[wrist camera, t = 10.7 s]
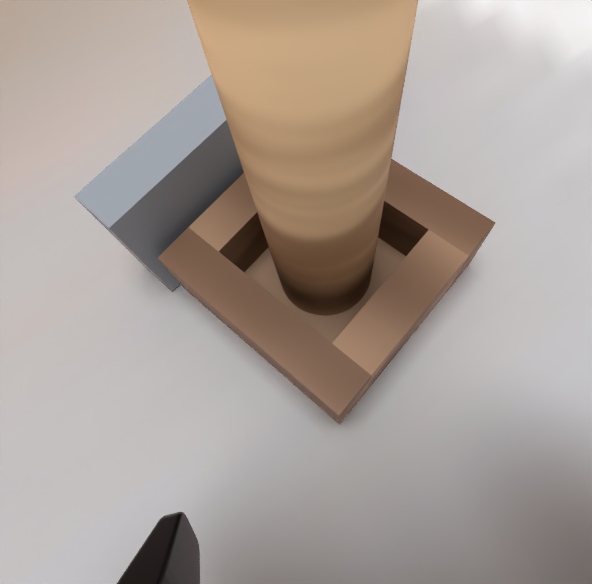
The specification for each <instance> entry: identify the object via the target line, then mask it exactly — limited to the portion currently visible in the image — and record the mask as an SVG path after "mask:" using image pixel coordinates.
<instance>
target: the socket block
mask: <svg viewBox="0 0 592 584" xmlns="http://www.w3.org/2000/svg"><path fill="white" fill-rule="evenodd" d="M494 224H495V222H493V221H492V220H490V219H488V218H487V217H485V216H484V215H482V214H480V213H479V212H477V211H475V210H474V209H472V208H471V207H469V206H467V205H466V204H464V203H462V202H461V201H459V200H457V199H456V198H454V197H453V196H451V195H449V194H448V193H446V192H444V191H443V190H441V189H440V188H438V187H436V186H435V185H433V184H431V183H430V182H428V181H427V180H425V179H423V178H422V177H420V176H418V175H417V174H415V173H413V172H412V171H410V170H409V169H407V168H405V167H404V166H402V165H400V164H399V163H397V162H396V161H394V160H392V159H391V163H390V169H389V175H388V181H387V187H386V192H385V198H384V204H383V210H382V216H381V222H380V228H379V234H378V240H377V245H376V251H375V257H374V263H373V269H372V275H371V280H370V284H369V287H368V290H367V292H366V293H365V295H364V296H363V298H362V299H361V300H360V301H359V302H358V303H357V304H356V305H355V306H353V307H352V308H350V309H349V310H347V311H344V312H342V313H339V314H335V315H326V316H324V315H315V314H311V313H308V312H305V311H303V310H301V309H300V308H298V307H297V306H295V305H294V304H293V303H292V302H291V301H290V300H289V299H288V297H287V296H286V294H285V292H284V290H283V288H282V285H281V282H280V279H279V276H278V273H277V270H276V267H275V264H274V261H273V258H272V255H271V252H270V249H269V246H268V243H267V240H266V237H265V234H264V231H263V228H262V225H261V222H260V219H259V216H258V213H257V210H256V207H255V204H254V201H253V198H252V195H251V192H250V189H249V186H248V183H247V180H246V177H245V174H244V173H243V174H242V175H241V176H240V177H239V178H238V179H237V180H236V181H235V182H234V183H233V184H232V185H231V186H230V187H229V188H228V189H227V190H226V191H225V192H224V193H223V194H222V195H221V196H220V197H219V198H218V199H217V200H216V201H215V202H214V203H213V204H212V205H211V206H210V207H209V208H208V209H206V210H205V211H204V212H203V213H202V214H201V215H200V216H199V217H198V218H197V219H196V220H195V221H194V222H193V223H192V224H191V225H190V226H189V227H188V228H187V229H186V230H185V231H184V232H183V233H182V234H181V235H180V236H179V237H178V238H177V239H176V240H175V241H174V242H173V243H172V244H171V245H170V246H169V247H168V248H167V249H166V250H165V251H164V252H163V253H162V254H161V255H160V256H159V257H158V259H159V260H160V261H161V263H162V264H163V265H164V266H165V267H166V268H167V269H168V270H169V271H170V272H171V274H172V275H173V276H174V277H175V278H176V279H177V280H178V281H179V282H180V283H181V284H182V286H183V287H184V288H185V289H186V290H187V291H188V292H189V293H190V294H191V295H193V296H194V297H195V298H196V299H197V300H198V301H199V302H201V303H202V304H203V305H204V306H205V307H206V308H207V309H209V310H210V311H211V312H212V313H213V314H214V315H215V316H216V317H218V318H219V319H220V320H221V321H222V322H223V323H224V324H226V325H227V326H228V327H229V328H230V329H231V330H232V331H234V332H235V333H236V334H237V335H238V336H239V337H240V338H242V339H243V340H244V341H245V342H246V343H247V344H248V345H250V346H251V347H252V348H253V349H254V350H255V351H256V352H258V353H259V354H260V355H261V356H262V357H263V358H264V359H266V360H267V361H268V362H269V363H270V364H271V365H272V366H274V367H275V368H276V369H277V370H278V371H279V372H280V373H282V374H283V375H284V376H285V377H286V378H287V379H288V380H290V381H291V382H292V383H293V384H294V385H295V386H296V387H298V388H299V389H300V390H301V391H302V392H303V393H304V394H306V395H307V396H308V397H309V398H310V399H311V400H312V401H314V402H315V403H316V404H317V405H318V406H319V407H320V408H322V409H323V410H324V411H325V412H326V413H327V414H328V415H330V416H331V417H332V418H333V419H334V420H335V421H336V422H338V423H339V424H340V423H341V422H342V421H343V419H344V418H345V417H346V416H347V414H348V413H349V412H350V411H351V410H352V408H353V407H354V406H355V405H356V403H357V402H358V401H359V400H360V398H361V397H362V396H363V395H364V393H365V392H366V391H367V390H368V388H369V387H370V386H371V385H372V384H373V382H374V381H375V380H376V379H377V377H378V376H379V375H380V374H381V372H382V371H383V370H384V369H385V367H386V366H387V365H388V364H389V362H390V361H391V360H392V359H393V358H394V356H395V355H396V354H397V353H398V351H399V350H400V349H401V348H402V346H403V345H404V344H405V343H406V341H407V340H408V339H409V338H410V337H411V335H412V334H413V333H414V332H415V330H416V329H417V328H418V327H419V325H420V324H421V323H422V322H423V320H424V319H425V318H426V317H427V315H428V314H429V313H430V312H431V311H432V309H433V308H434V307H435V306H436V304H437V303H438V302H439V301H440V299H441V298H442V297H443V296H444V294H445V293H446V292H447V291H448V289H449V288H450V287H451V286H452V285H453V283H454V282H455V281H456V280H457V278H458V277H459V276H460V275H461V273H462V272H463V271H464V270H465V268H466V267H467V266H468V265H469V263H470V262H471V260H472V259H473V257H474V256H475V254H476V252H477V251H478V249H479V248H480V246H481V245H482V243H483V242H484V240H485V238H486V237H487V235H488V234H489V232H490V231H491V229H492V228H493V226H494Z"/></svg>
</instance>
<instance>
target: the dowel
mask: <svg viewBox="0 0 592 584" xmlns="http://www.w3.org/2000/svg"><path fill="white" fill-rule="evenodd" d="M187 2H188V5H189V8H190V11H191V14H192V17H193V20H194V23H195V26H196V29H197V32H198V35H199V38H200V41H201V44H202V47H203V50H204V53H205V56H206V59H207V62H208V65H209V68H210V71H211V74H212V77H213V80H214V83H215V86H216V89H217V92H218V95H219V98H220V101H221V104H222V107H223V110H224V113H225V116H226V119H227V122H228V125H229V128H230V131H231V134H232V137H233V140H234V143H235V146H236V149H237V153H238V156H239V159H240V162H241V165H242V168H243V171H244V174H245V177H246V180H247V183H248V186H249V189H250V192H251V195H252V198H253V201H254V204H255V207H256V210H257V213H258V216H259V219H260V222H261V225H262V228H263V231H264V234H265V237H266V240H267V243H268V246H269V249H270V252H271V255H272V258H273V261H274V264H275V267H276V270H277V273H278V276H279V279H280V282H281V285H282V288H283V290H284V292H285V294H286V296H287V297H288V299H289V300H290V301H291V302H292V303H293V304H294V305H295V306H297V307H298V308H300V309H301V310H303V311H305V312H308V313H311V314H315V315H324V316H326V315H335V314H339V313H342V312H344V311H347V310H349V309H350V308H352V307H353V306H355V305H356V304H357V303H358V302H359V301H360V300H361V299H362V298H363V296H364V295H365V293H366V292H367V290H368V287H369V284H370V280H371V275H372V269H373V263H374V257H375V251H376V245H377V240H378V234H379V228H380V222H381V216H382V210H383V204H384V198H385V192H386V187H387V181H388V175H389V169H390V163H391V157H392V151H393V145H394V139H395V134H396V128H397V122H398V116H399V110H400V104H401V98H402V92H403V87H404V81H405V75H406V69H407V63H408V57H409V51H410V45H411V39H412V34H413V28H414V22H415V16H416V10H417V4H418V0H187Z"/></svg>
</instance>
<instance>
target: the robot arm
mask: <svg viewBox="0 0 592 584" xmlns="http://www.w3.org/2000/svg"><path fill="white" fill-rule="evenodd" d="M117 584H200V552H199V544H198V540H197V538H196V535H195V533H194V531H193V529H192V527H191V525H190V523H189V521H188V519H187V517H186V515H185V514H184V513H183V512H177V513H174V514H170V515H166V516H164V517H162V518H161V519H160V520H159V522H158V523H157V525H156V526H155V528H154V529H153V531H152V532H151V534H150V535H149V536H148V538H147V539H146V541H145V542H144V544H143V545H142V547H141V548H140V550H139V551H138V553H137V554H136V556H135V557H134V559H133V560H132V562H131V563H130V565H129V566H128V568H127V569H126V571H125V572H124V574H123V575H122V577H121V578H120V580H119V581H118V583H117Z"/></svg>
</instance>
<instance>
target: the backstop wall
mask: <svg viewBox="0 0 592 584" xmlns="http://www.w3.org/2000/svg"><path fill="white" fill-rule="evenodd" d="M243 173H244V171H243V168H242V165H241V162H240V159H239V156H238V153H237V149H236V146H235V143H234V140H233V137H232V134H231V131H230V128H229V125H228V122H227V119H226V116H225V113H224V110H223V107H222V104H221V101H220V98H219V95H218V92H217V89H216V86H215V83H214V80H213V77H212V75H211V76H210V77H208V78H207V79H206V80H205V81H204V82H203V83H202V84H201V85H199V86H198V87H197V88H196V89H195V90H194V91H193V92H192V93H190V94H189V95H188V96H187V97H186V98H185V99H184V100H182V101H181V102H180V103H179V104H178V105H177V106H176V107H175V108H173V109H172V110H171V111H170V112H169V113H168V114H167V115H166V116H164V117H163V118H162V119H161V120H160V121H159V122H158V123H156V124H155V125H154V126H153V127H152V128H151V129H150V130H149V131H147V132H146V133H145V134H144V135H143V136H142V137H141V138H140V139H138V140H137V141H136V142H135V143H134V144H133V145H132V146H130V147H129V148H128V149H127V150H126V151H125V152H124V153H123V154H121V155H120V156H119V157H118V158H117V159H116V160H115V161H113V162H112V163H111V164H110V165H109V166H108V167H107V168H106V169H104V170H103V171H102V172H101V173H100V174H99V175H98V176H97V177H95V178H94V179H93V180H92V181H91V182H90V183H89V184H87V185H86V186H85V187H84V188H83V189H82V190H81V191H80V192H78V193H77V194H76V195H75V196H74V197H75V198H76V199H77V200H78V201H79V202H80V203H81V204H82V205H83V206H84V207H85V208H86V209H87V210H88V211H89V212H90V213H91V214H92V215H93V216H94V217H95V218H96V219H97V220H98V221H99V222H100V223H101V224H102V225H103V226H104V227H105V228H106V229H107V230H108V231H109V232H110V233H111V234H112V235H113V236H114V237H115V238H116V239H117V240H118V241H119V242H120V243H121V244H122V245H123V246H124V247H125V248H126V249H127V250H128V251H129V252H130V253H132V254H133V255H134V256H135V257H136V258H137V259H138V260H139V261H140V262H141V263H142V264H143V265H144V266H145V267H146V268H147V269H148V270H149V271H150V272H151V273H152V274H154V275H155V276H156V277H157V278H158V279H159V280H160V281H161V282H162V283H164V284H165V285H166V286H167V287H168V288H169V289H170V290H171V291H172V292H173V291H174V290H175V289H176V288H177V287H178V286H179V285H180V284H181V283H180V282H179V281H178V280H177V279H176V278H175V277H174V276H173V275H172V274H171V272H170V271H169V270H168V269H167V268H166V267H165V266H164V265H163V264H162V263H161V261H160V260H159V259H158V257H159V256H160V255H161V254H162V253H163V252H164V251H165V250H166V249H167V248H168V247H169V246H170V245H171V244H172V243H173V242H174V241H175V240H176V239H177V238H178V237H179V236H180V235H181V234H182V233H183V232H184V231H185V230H186V229H187V228H188V227H189V226H190V225H191V224H192V223H193V222H194V221H195V220H196V219H197V218H198V217H199V216H200V215H201V214H202V213H203V212H204V211H205V210H206V209H208V208H209V207H210V206H211V205H212V204H213V203H214V202H215V201H216V200H217V199H218V198H219V197H220V196H221V195H222V194H223V193H224V192H225V191H226V190H227V189H228V188H229V187H230V186H231V185H232V184H233V183H234V182H235V181H236V180H237V179H238V178H239V177H240V176H241V175H242V174H243Z"/></svg>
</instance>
